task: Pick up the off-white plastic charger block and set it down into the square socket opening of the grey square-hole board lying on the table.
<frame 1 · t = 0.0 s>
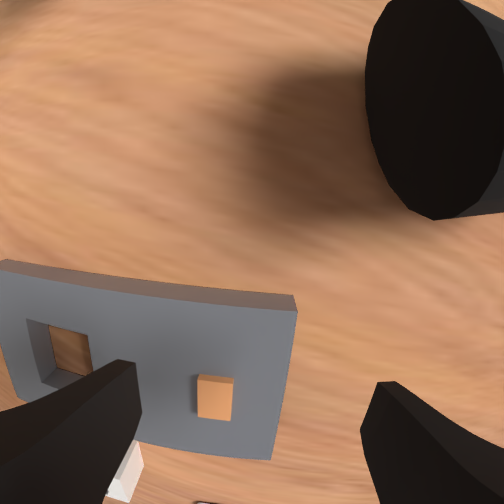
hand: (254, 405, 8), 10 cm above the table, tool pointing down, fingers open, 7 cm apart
grey square-hole board: (123, 357, 19), on the table
charger: (121, 447, 22), on the table
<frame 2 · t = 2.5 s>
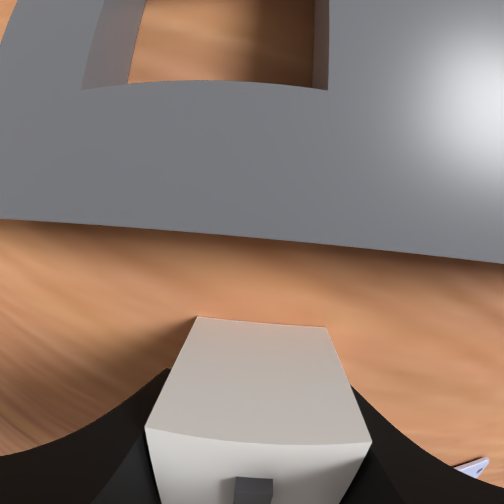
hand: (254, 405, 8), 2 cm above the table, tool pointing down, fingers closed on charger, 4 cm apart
grey square-hole board: (351, 42, 7), on the table
charger: (256, 375, 10), on the table, touching gripper
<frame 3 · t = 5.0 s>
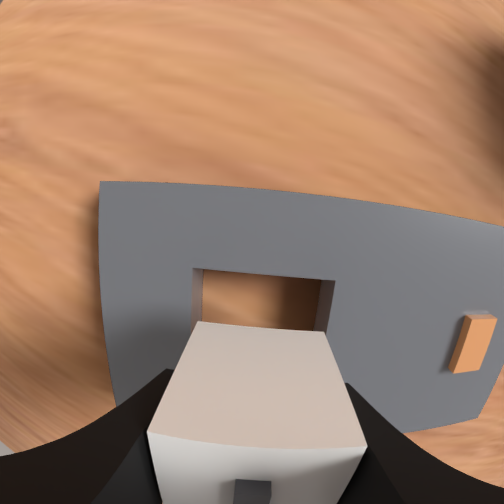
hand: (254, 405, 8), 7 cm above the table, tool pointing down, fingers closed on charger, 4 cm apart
grey square-hole board: (338, 320, 15), on the table
charger: (255, 378, 10), point 5 cm above the table, touching gripper
when the fingers open (3 cm above the table, at t = 6.4 s): charger drops 2 cm, resting in grey square-hole board.
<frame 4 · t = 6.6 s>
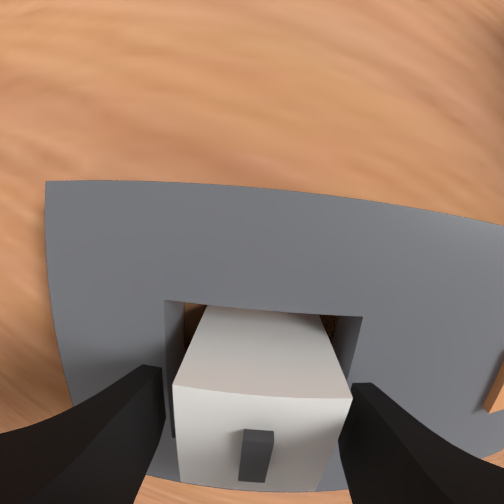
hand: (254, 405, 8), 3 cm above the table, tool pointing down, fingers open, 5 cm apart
grey square-hole board: (357, 356, 11), on the table
charger: (258, 355, 11), resting in grey square-hole board
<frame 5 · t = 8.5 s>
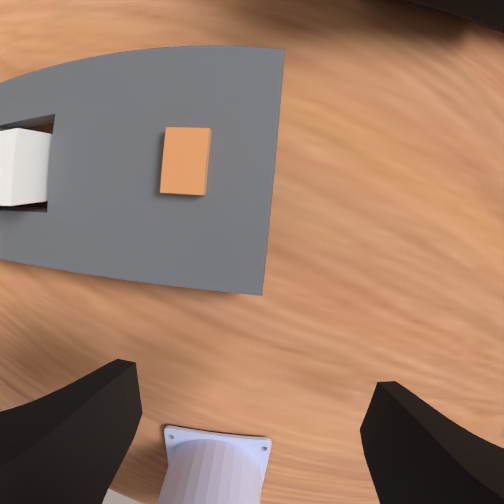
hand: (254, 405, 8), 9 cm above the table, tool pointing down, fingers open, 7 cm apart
grey square-hole board: (88, 163, 16), on the table
charger: (43, 168, 16), resting in grey square-hole board
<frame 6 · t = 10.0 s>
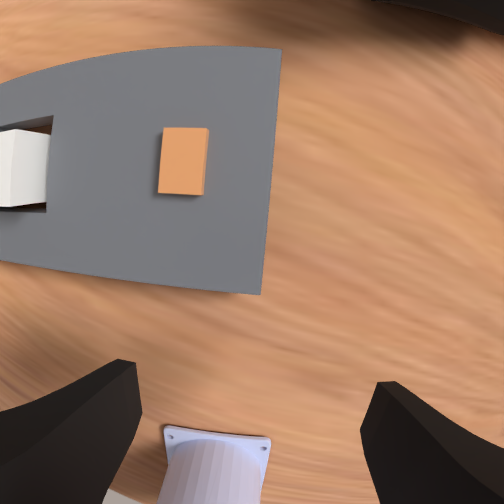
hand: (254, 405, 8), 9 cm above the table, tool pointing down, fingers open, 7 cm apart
grey square-hole board: (86, 164, 16), on the table
charger: (42, 169, 16), resting in grey square-hole board
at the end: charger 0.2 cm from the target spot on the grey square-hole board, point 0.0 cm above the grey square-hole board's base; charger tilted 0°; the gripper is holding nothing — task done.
